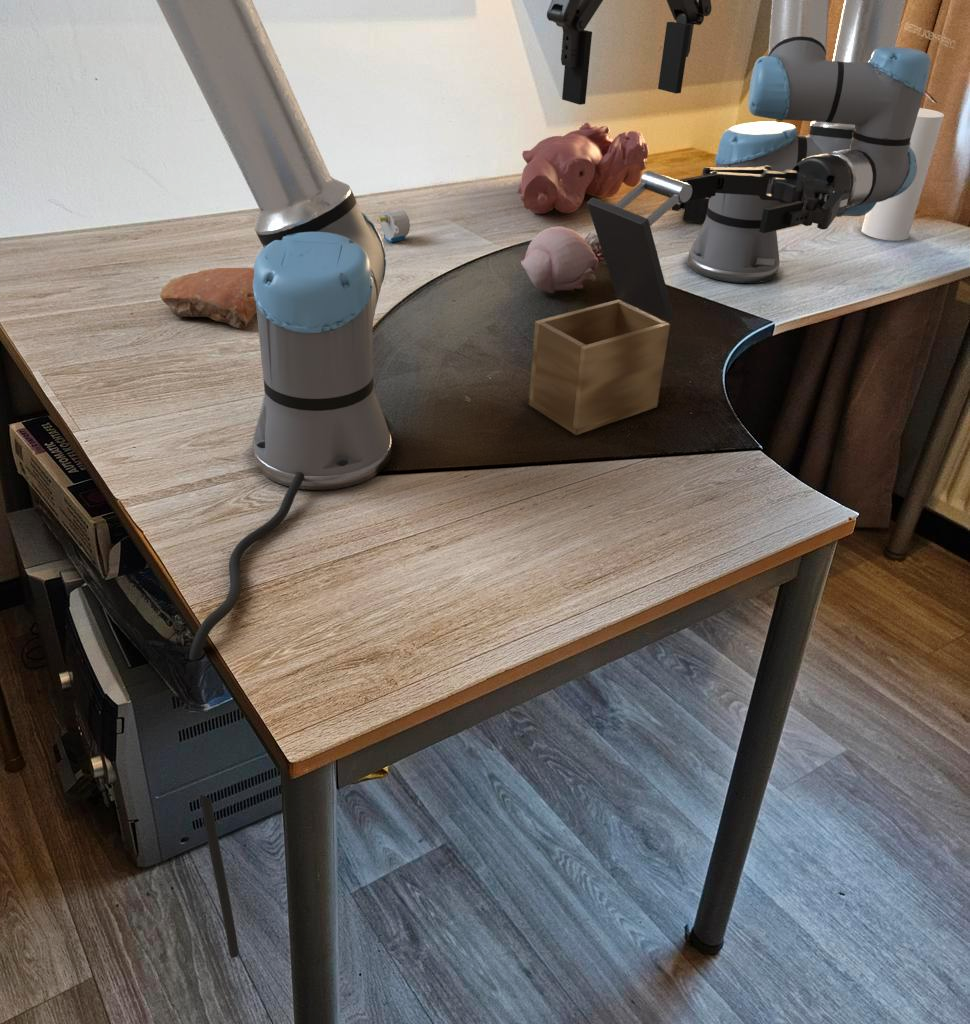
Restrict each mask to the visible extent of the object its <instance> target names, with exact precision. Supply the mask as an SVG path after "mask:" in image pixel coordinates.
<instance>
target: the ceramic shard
mask: <svg viewBox="0 0 970 1024" xmlns="http://www.w3.org/2000/svg"><path fill="white" fill-rule="evenodd" d="M253 279H254V267H216V268H211V269H203V270H200V271H198V272H193V273H187V274H184V275H181V276H179V277H177V278H176V277H175V278H173V279H171V280H170V281H168V282H167V283H166V284H165V285H164V286H163V287H162V289H161V291H160V294H159V297H160V299H161V301H162V302H163V303H164V304H165V305H166V306H168V308H169V310H170V312H171V313H172V315H173V316H174V317H178V318H180V317H185V318H187V317H189V318H197V317H198V318H209V319H211V320H213V321H215V322H219V323H225V324H228V325H229V326H230V327H234V328H237V329H244V328H246V327H247V325H248V324H249V323H250V321H251V320H252V319H253V317H254V316H255V315H257V309H256V301H255V299H254V293H253Z"/></svg>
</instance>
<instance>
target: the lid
mask: <svg viewBox="0 0 970 1024" xmlns="http://www.w3.org/2000/svg"><path fill="white" fill-rule="evenodd" d="M647 190H648V191H650V192H652V193H655V194H657V195H661V196H663V197H667V198H668V199H667V200H666V201H664V202H663V203H662V204H661V205H660V206H659V207H658V208H656V210H654V211H653V212H652V213H651V214H649V215H648V216H647V217H644V216H642V215H639V214H637V213H633V212H631V211H629V210H627V209H625V208H626V207H627V206H628V205H630V204H631V203H632V202H633V201H634V200H635V199H636V198H637V197H639V196H640V195H641V194H643V192H644V191H647ZM691 195H692V186H691V185H690V184H687V183H684V182H681V181H679V180H678V179H675V178H672V177H670V176H666V175H663V174H661V173H658V172H656V171H653V170H646V171H644V173H642V175H641V178H640V182H639V183H638V184H637V185H636V186H634V187H633V189H632V190H631V191H630V192H628V193H627V194H626V195H624V197H622V198H620V200H618V201H617V202H616V203H614V205H613V204H612V203H611V204H610V203H609V202H606V201H603V200H601V199H598V198H597V197H596V198H595V197H591V198H590V199H588V200H587V202H586V205H587V208H588V211H589V214H590V218H591V221H592V224H593V227H594V230H595V234H596V235H597V236H598V240H599V243H600V246H601V249H602V252H603V255H604V258H605V262H606V264H605V265H606V268H607V270H608V273H609V277H610V281H611V283H612V287H613V290H614V293H615V296H616V298H617V299H619V300H621V301H623V302H625V303H627V304H629V305H632V306H634V307H636V308H638V309H640V310H642V311H644V312H646V313H648V314H650V315H652V316H654V317H656V318H658V319H661V320H663V321H665V322H667V323H669V322H670V321H672V319H673V318H674V317H675V315H674V311H673V307H672V303H671V300H670V296H669V292H668V289H667V285H666V281H665V277H664V274H663V270H662V266H661V262H660V259H659V255H658V250H657V247H656V243H655V240H654V236H653V231H652V228H651V226H652V225H653V224H655V223H656V222H657V221H658V220H659V219H660V218H662V216H664V215H665V214H666V213H667V212H669V211H670V210H672V207H673V206H674V205H675V204H676V203H678V202H679V201H680V202H683V203H684V202H687V201H688V200H689V199H690V197H691Z"/></svg>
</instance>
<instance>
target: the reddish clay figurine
mask: <svg viewBox="0 0 970 1024" xmlns="http://www.w3.org/2000/svg"><path fill="white" fill-rule="evenodd" d="M610 130H611V129H610V127H608V126H607V125H605V126H604V125H602V126H600V127H598V126H592V125H591V124H590V123H589V122H585V123H584V124H581V126H580V127H579V129H576V130H573V131H570V132H568V133H566V134H565V135H554V136H549V137H546V138H544V139H542V140H540V141H539V142H538V143H536V145H535V146H534V147H532V148H531V149H529V150H523V151H522V153H521V156H522V158H523V160H524V162H525V163H526V164H525V166H524V168H523V170H522V172H521V173H522V174H521V180H520V181H521V182H520V185H519V186H518V189H517V194H518V195H520V200H521V202H522V203H523V207H524V209H525V210H529V211H530V212H532V213H535V214H546V213H549V212H551V211H552V210H553V209H554V208H555V209H556V210H557V211H559V212H560V213H564V214H569V213H573V212H575V211H578V209H579V208H581V206H582V203H584V199H585V195H591V196H593V197H596V198H599V197H604V198H606V197H608V198H610V197H613V196H614V195H617V194H618V192H619V191H620V189H621V186H622V184H624V185H625V186H627V187H631V188H635V187H637V186H638V185H639V183H640V182H641V178H642V176H643V171H645V170H646V169H647V164H648V161H647V160H648V157H649V146H648V143H647V142H646V141H645V139H644V135H643V134H642V132H638V131H636V130H631V131H628V132H627V131H624V132H621V133H618V135H617V136H615V137H614V138H612V137H611V136H610V135H609V134H610Z"/></svg>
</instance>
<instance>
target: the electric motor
mask: <svg viewBox="0 0 970 1024" xmlns="http://www.w3.org/2000/svg"><path fill="white" fill-rule="evenodd" d="M376 222H377V224H378V225H380V227H381V231H382V233H383V238H384V240H385V241H388V242H389V243H394V242H395V243H396V242H399V241H404V240H405V238H406V236H407V235H409V233H410V229H411V222H410V218H409V216H408V213H407V212H406V210H404V209H403V208H397V209H392V210H387V211H384V212H383V213H382V214H381V216H378V217H377V218H376Z"/></svg>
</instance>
